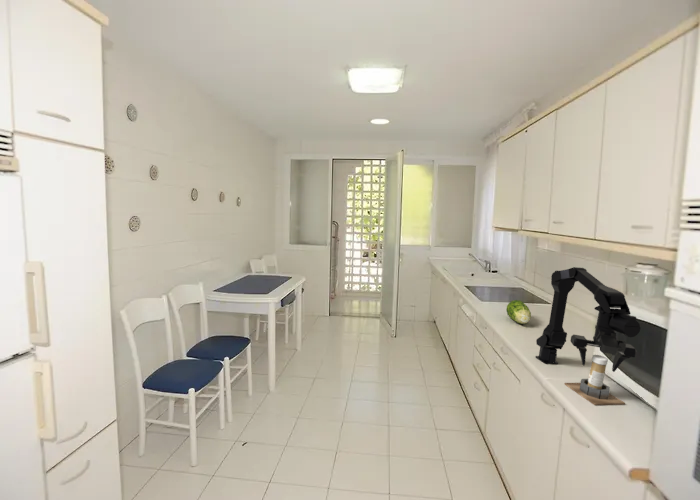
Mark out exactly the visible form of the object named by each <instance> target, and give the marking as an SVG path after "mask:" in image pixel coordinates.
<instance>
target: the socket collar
mask: <svg viewBox="0 0 700 500" xmlns="http://www.w3.org/2000/svg"><path fill="white" fill-rule="evenodd" d="M588 379H589V378H581V379H580V383H581V384H580V389H579V390H580V391H582V392H583V393H585V394H586V395H588V396H591V397H594V398H597V399H608V397H609V393H610V392H611V391H610V388H611V387H610V386H609V385H608V384H605V383H604V382H603V385H602V388H601V390H599V389H596V388H593V387H590V386H588Z"/></svg>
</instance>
